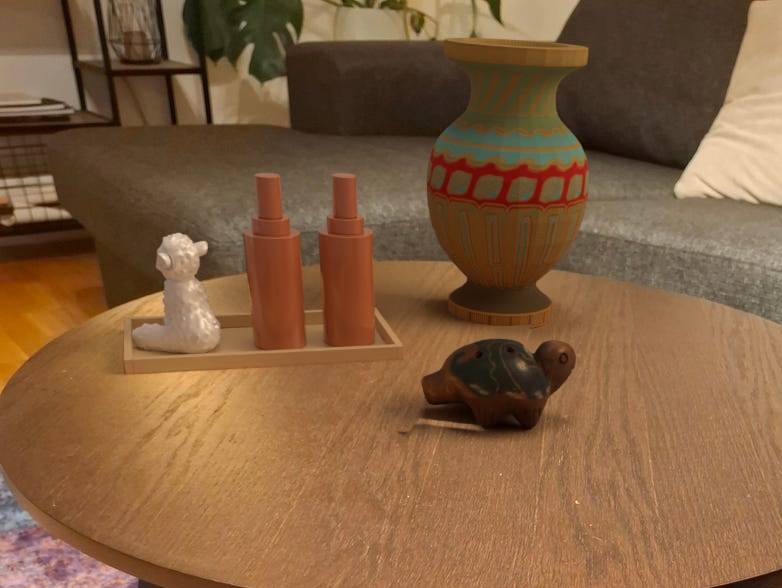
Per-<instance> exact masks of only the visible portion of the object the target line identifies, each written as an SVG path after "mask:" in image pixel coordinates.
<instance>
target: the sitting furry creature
mask: <svg viewBox="0 0 782 588" xmlns="http://www.w3.org/2000/svg"><path fill="white" fill-rule="evenodd" d="M208 250H209V243H208V242H207V241H206V240H201V241H197V242H194V241H193V240H192V239H191V238H190V237H189V236H188V235H187V234H184V233H183V234H182V233H181V232H176V233H172V234H168V235H166V236H163V237H162V242H161V244H160V246H159V247H158V248H157V249H156V262H155V268H156V269H157V270H158V271H160V272H161V273H162V276H163V277H164V278H165V280H164V281H163V286H164V289H163V292H162V295H163V297H162V305H163V306H164V307H163V309H164V310H163V313H164V316H165V317H164V324H165V325H162V326H160V325H159V324H157V323H155V324H152V325H150V324H147V323H144V324H143V325H142V326H141V327H138V328H136V329H134V330H133V332H132V339H133V342H134V344H135V345H136V346H137V347H139V348H142V349H145V350H155V351H164V352H173V353H184V354H201V353H206V352H209V351H211V350H213V349H214V348H215V347H216V346H217V345H218V344H219V342H220V340H219V339H220V333H221V330H220V323H219V322H218V320H217V319H216V318H215V314H216V313H215V311H214V310H212V307H211V304H209V301H210V300H209V295H208V293H207V291H206V288H205V287H204V286H203V283H202V282H201V281H200V280H199V279H198V278H196V277H195V276H196V275H197V274H198V271H199V268H200V266H201V263H200V262H201V261H200V260H201V259H200V257H202V256H205V255H207V253H208Z"/></svg>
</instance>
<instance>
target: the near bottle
mask: <svg viewBox="0 0 782 588" xmlns="http://www.w3.org/2000/svg"><path fill="white" fill-rule="evenodd" d="M253 175H254V177H253V178H254V189H255V200H256V211H257V213H255V214H252V215H251V217H250V219H251V227H248V228H245V229H244V230H242V237H243V248H244V249H243V250H244V258H245V268H246V269H245V270H246V277H247V279H246V280H247V288H248V289H247V290H248V298H249V309H250V313H251V320H252V331H253V341H254V346H255V347H257V348H258V349H261V350H264V351H268V350H288V349H302V348H304V347H305V346H306V345H307V336H306V320H305V310H306V307H305V288H304V275H303V273H304V272H303V259H302V241H301V240H302V239H301V231H300V230H298V229H296V228H294V227H291V217H290V215H287V214H285V213H283V200H282V186H281V184H282V183H281V176H280V174H278V173H275V172H258V173H255V174H253Z"/></svg>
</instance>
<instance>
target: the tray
mask: <svg viewBox="0 0 782 588" xmlns="http://www.w3.org/2000/svg"><path fill="white" fill-rule="evenodd" d="M214 314H215V318H216V319H217V320H218V322H219V323H220V330H221V333H220V339H219V340H220V342H219V344H218V345H217V346H216V347H215V348H214V349H213V350H211V351H209V352H206V353H201V354H184V353H173V352H164V351H155V350H145V349H142V348H139V347H137V346H136V345H135V344H134V342H133V339H132V332H133V330H134V329H136V328H138V327H141V326H142V325H143V324H144V323H147V324H150V325H152V324H155V323H157V324H159V325H160V326H162V325H165V324H164V317H165V315H147V316H124V317H123V356H122V357H123V358H122V359H123V367H124V372H125V375H126V376H128V375H144V374H165V373H180V372H181V373H182V372H183V373H184V372H199V371H200V372H204V371H221V370H238V369H255V368H256V369H257V368H275V367H276V368H277V367H278V368H279V367H296V366H297V367H298V366H312V365H315V366H316V365H332V364H351V363H352V364H353V363H368V362H387V361H388V362H389V361H404V355H405V354H404V351H405V350H404V345H403V343H402V342H401V341H400V339H399V338H398V336H397V335H396V333H395V331H394V330H393V329H392V328H391V326H390V325H389V324H388V322H387V321H386V319H385V318H384V316H383V315H382V313H381V312H380V311H379V310H378V308H377V307H375V342H374V343H373V344H372V345H370V346H350V347H333V346H330V345H328V344H326V343H325V342H324V337H323V318H322V309H308V310H306V309H305V320H306V336H307V345H306V346H305V347H304V348H302V349H288V350H268V351H264V350H261V349H258V348H257V347H255V346H254V341H253V331H252V320H251V312H228V313H227V312H226V313H214Z"/></svg>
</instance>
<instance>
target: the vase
mask: <svg viewBox="0 0 782 588" xmlns="http://www.w3.org/2000/svg"><path fill="white" fill-rule="evenodd" d="M443 56H444V57H445V58H447V59H448V60H450V61H452V62H453V63H455V64H456V65H458V66H459V67H461V68H462V70H463V71H464V72H465V73H466V75H467V76H468V80H469V82H470V96H469V100H468V101H469V102H468V105H467V108H466V109H465V111H464V112H463V113H462V114H461V115H460V116H459V117H458V118H456V119H455V120H454V121H453V122H451V124H449V126H448V127H446V128H445V130H444V131H442V133H440V135H438V137H437V139H436V142H435V143H434V144H433V147H432V149H431V153H430V156H429V160H428V164H427V171H426V204H427V208H428V213H429V218H430V223H431V226H432V229H433V231H434V234H435V236H436V238H437V241H438V243H439V246H440V248H441V249H442V250H443V252H444V253H445V255H446V256H447V257H448V259H449V260H450V261H451V263H453V265H455V266H456V268H457V269H458V270H459V271H460V272H461V273H462V274H463V275H464V276H465V277H466V281H465V283H463V284H462V285H460V286H459V287H457V288H455V289H454V290H453V291H451V292H450V293H448V298H447V309H448V311H449V312H450V314H451V315H454V316H455V317H457V318H459V319H462V320H464V321H468V322H472V323H476V324H482V325H488V326H500V327H501V326H502V327H517V326H519V327H520V326H521V327H522V326H528V325H530V329H534V328H537V327H541V326H544V325H545V324H548V323H549V322H550V321H551V319H552V311H553V301H552V300H551V298H550V297H549V296H547V294H545V293H544V292H543V291H542V290H540V289H539V288H538V286H537V283H538V281H539V280H541V279H542V278H543V277H544V276H546V275H547V274H548V273H549V272H551V270H553V269H554V267H555V266H557V265H558V263H559V262H561V261H562V259H564V257H566V255H567V254H568V251H569V250H570V249H571V247H572V245H573V243H574V242H575V240H576V239H577V236H578V235H579V233H580V229H581V226H582V223H583V220H584V218H585V214H586V208H587V203H588V197H589V190H590V172H589V166H588V165H589V164H588V158H587V156H586V152H584V148H583V146H582V144H581V143H580V141H579V140H578V138H577V137H576V136H575V134H574V133H573V132H572V131H571V130H570V129H569V128H568V127H567V126H566V124H565V123H564V122H563V121H562V120H561V118H560V117H559V114H558V111H557V104H556V103H557V102H556V99H557V91H558V88H559V85H560V83H561V82H562V80H564V78H565V77H566V76H567V75H569V74H570V73H572V72H575V71H577V70H579V69H581V68H583V67H585V66H586V65H588V59H589V47H587V46H583V45H577V44H570V43H569V44H567V43H561V42H560V43H559V42H549V41H539V40H537V41H536V40H525V39H523V40H522V39H509V38H507V39H506V38H485V37H448V38H447V37H445V38H444V43H443Z"/></svg>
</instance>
